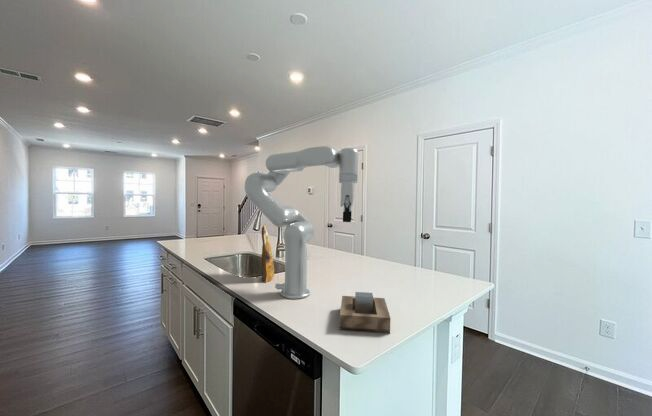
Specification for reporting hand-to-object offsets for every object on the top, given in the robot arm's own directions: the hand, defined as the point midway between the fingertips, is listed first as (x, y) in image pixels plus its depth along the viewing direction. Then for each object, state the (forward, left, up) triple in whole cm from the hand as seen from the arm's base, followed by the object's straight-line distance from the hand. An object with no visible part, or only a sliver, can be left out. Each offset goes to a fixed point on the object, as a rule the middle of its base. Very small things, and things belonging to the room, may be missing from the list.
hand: (347, 221), depth 115 cm
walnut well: (+7, -17, -33) cm, 38 cm away
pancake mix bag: (-42, +27, -34) cm, 60 cm away
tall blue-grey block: (+7, -17, -32) cm, 37 cm away
